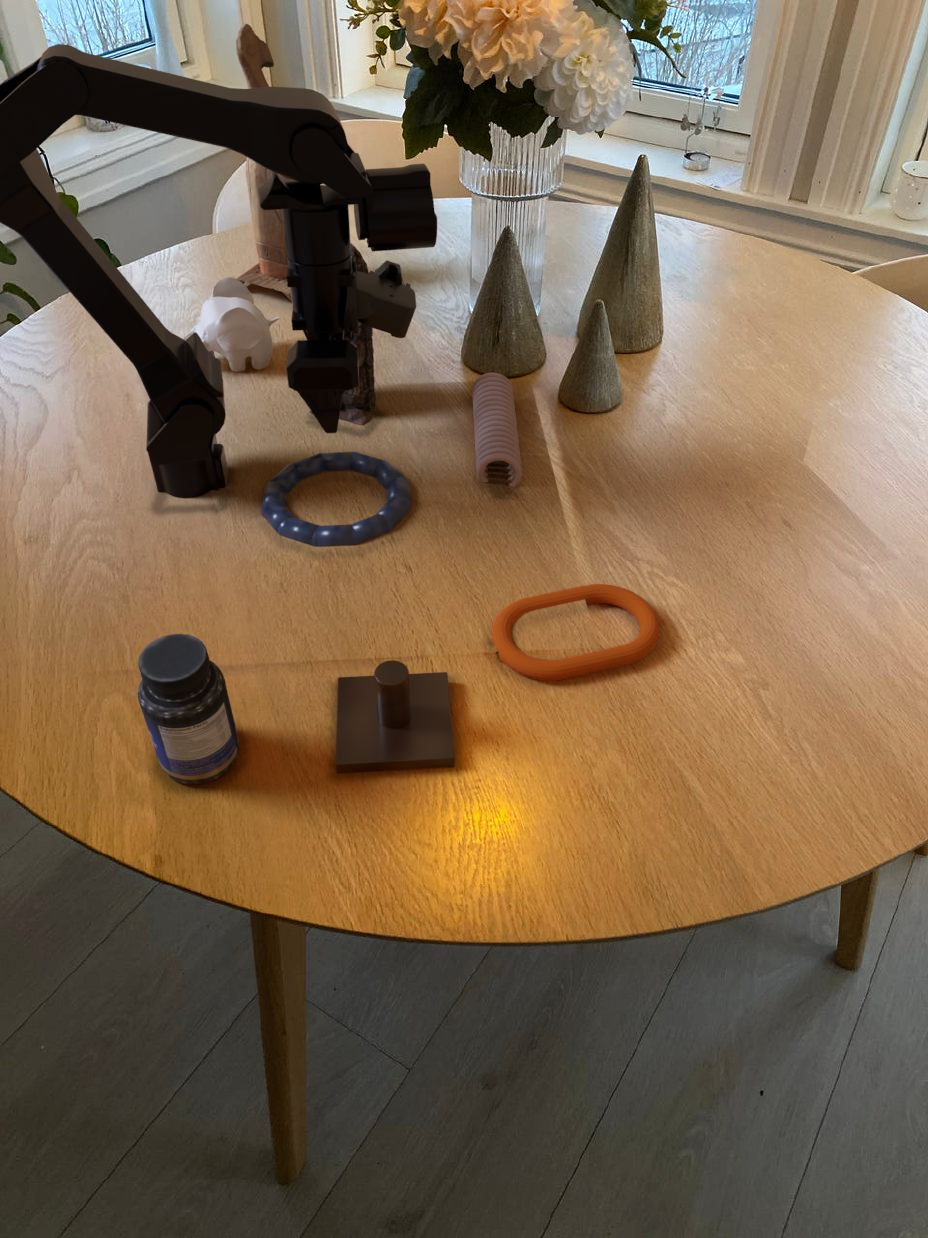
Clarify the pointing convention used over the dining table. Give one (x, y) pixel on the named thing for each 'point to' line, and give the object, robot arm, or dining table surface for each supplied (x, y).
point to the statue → (360, 368)
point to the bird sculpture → (262, 180)
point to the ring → (336, 534)
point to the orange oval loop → (584, 661)
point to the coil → (495, 426)
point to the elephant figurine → (235, 326)
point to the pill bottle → (187, 709)
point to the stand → (393, 721)
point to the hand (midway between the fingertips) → (332, 407)
